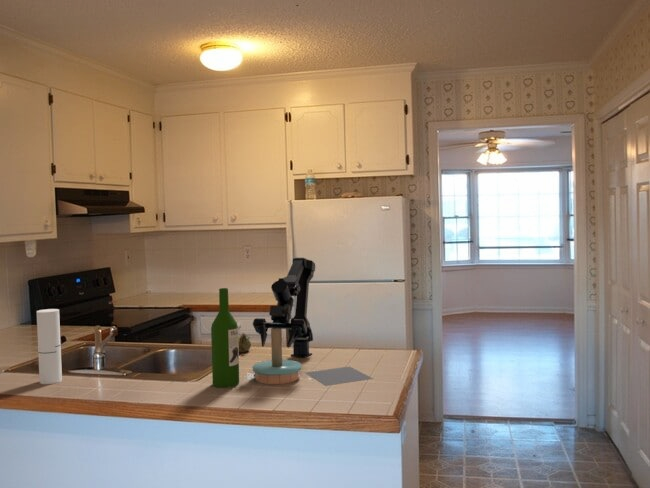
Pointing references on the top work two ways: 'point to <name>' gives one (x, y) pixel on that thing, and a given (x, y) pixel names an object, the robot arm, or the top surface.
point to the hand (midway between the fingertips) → (275, 346)
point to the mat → (338, 376)
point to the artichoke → (244, 343)
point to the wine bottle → (224, 345)
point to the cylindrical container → (49, 346)
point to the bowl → (277, 378)
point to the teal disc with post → (276, 359)
